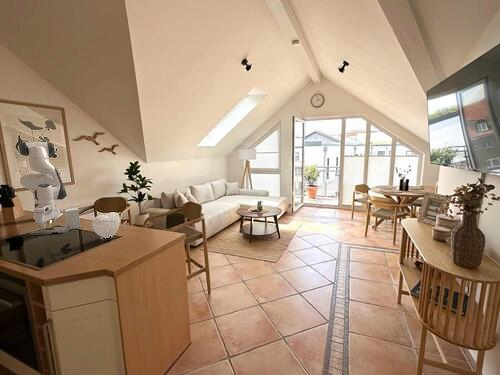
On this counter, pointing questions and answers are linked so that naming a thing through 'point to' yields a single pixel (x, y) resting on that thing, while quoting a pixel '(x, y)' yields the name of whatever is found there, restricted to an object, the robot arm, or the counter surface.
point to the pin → (49, 225)
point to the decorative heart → (106, 224)
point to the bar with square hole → (50, 231)
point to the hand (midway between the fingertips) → (49, 225)
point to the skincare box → (72, 218)
